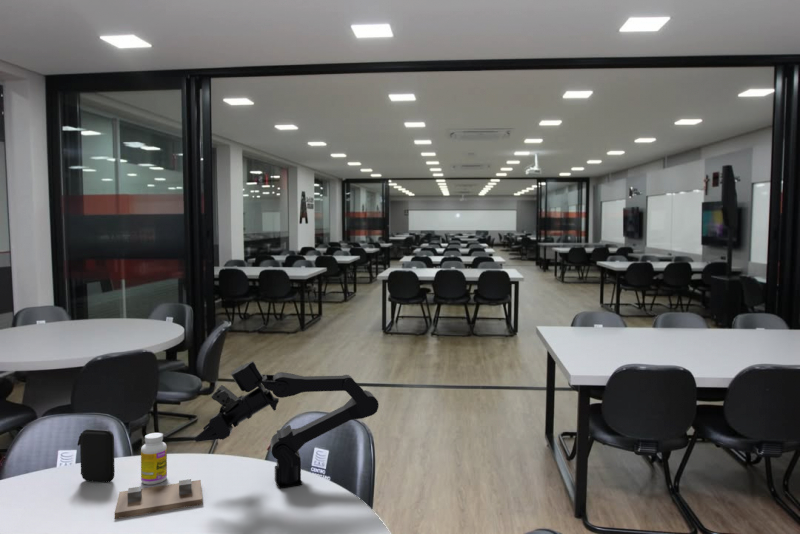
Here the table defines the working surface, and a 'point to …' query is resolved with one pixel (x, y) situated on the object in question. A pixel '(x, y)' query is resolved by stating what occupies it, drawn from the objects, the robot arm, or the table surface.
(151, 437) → the supplement bottle
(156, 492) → the board
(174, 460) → the table surface
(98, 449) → the carrying case or bag
